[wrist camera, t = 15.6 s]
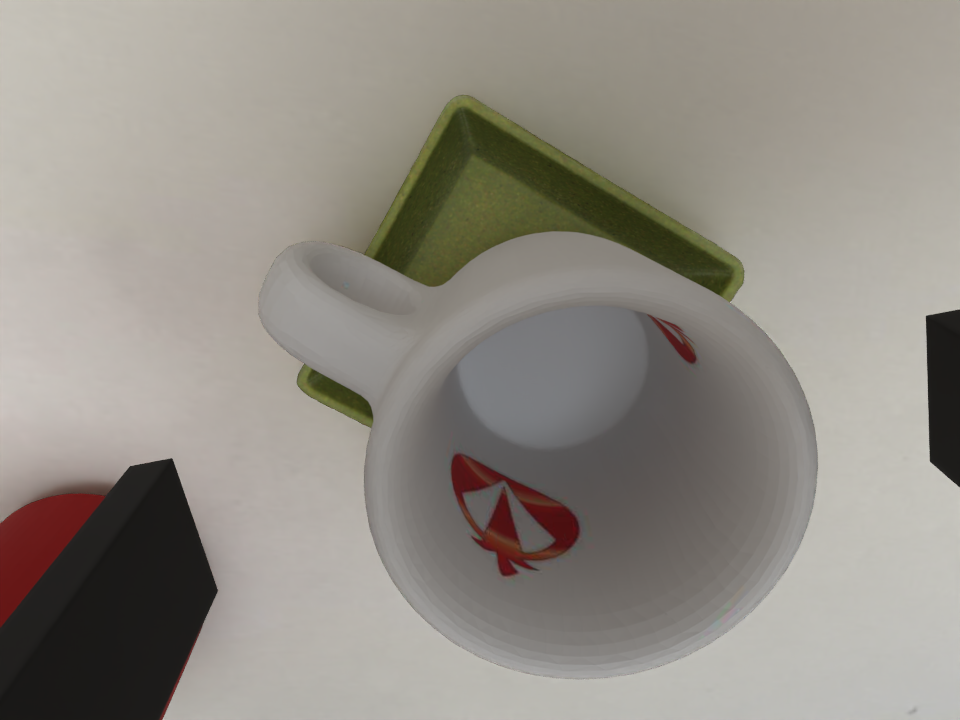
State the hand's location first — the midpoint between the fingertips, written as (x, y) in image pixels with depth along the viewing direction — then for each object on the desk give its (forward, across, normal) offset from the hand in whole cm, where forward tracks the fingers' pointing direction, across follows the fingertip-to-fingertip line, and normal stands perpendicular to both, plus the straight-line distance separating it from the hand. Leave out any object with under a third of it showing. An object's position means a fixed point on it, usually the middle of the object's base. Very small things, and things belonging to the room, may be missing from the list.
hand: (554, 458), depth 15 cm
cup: (+8, -1, 0) cm, 8 cm away
